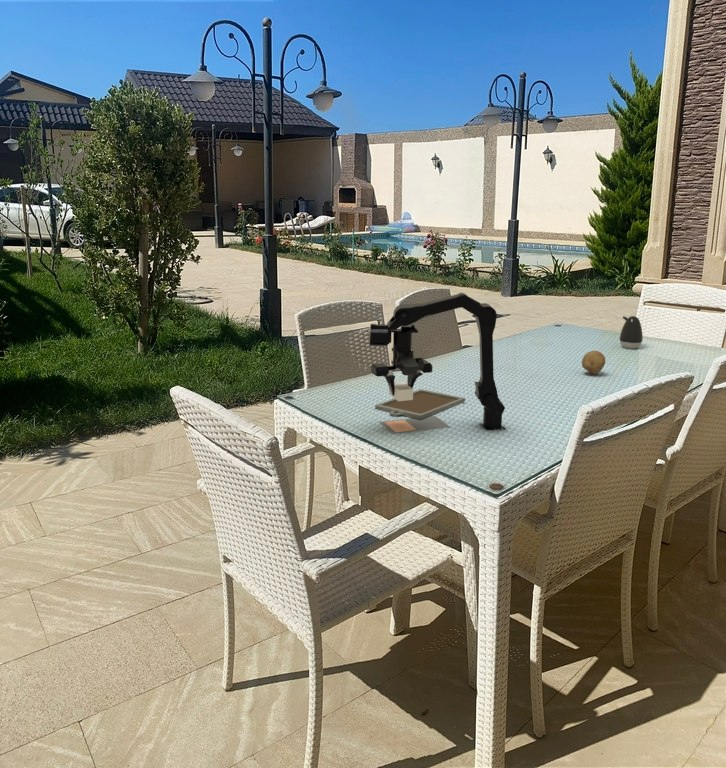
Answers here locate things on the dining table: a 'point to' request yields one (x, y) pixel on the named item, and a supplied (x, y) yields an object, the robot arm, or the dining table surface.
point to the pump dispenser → (631, 333)
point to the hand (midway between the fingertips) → (401, 394)
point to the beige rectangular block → (402, 392)
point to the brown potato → (593, 362)
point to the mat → (414, 425)
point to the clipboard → (420, 404)
